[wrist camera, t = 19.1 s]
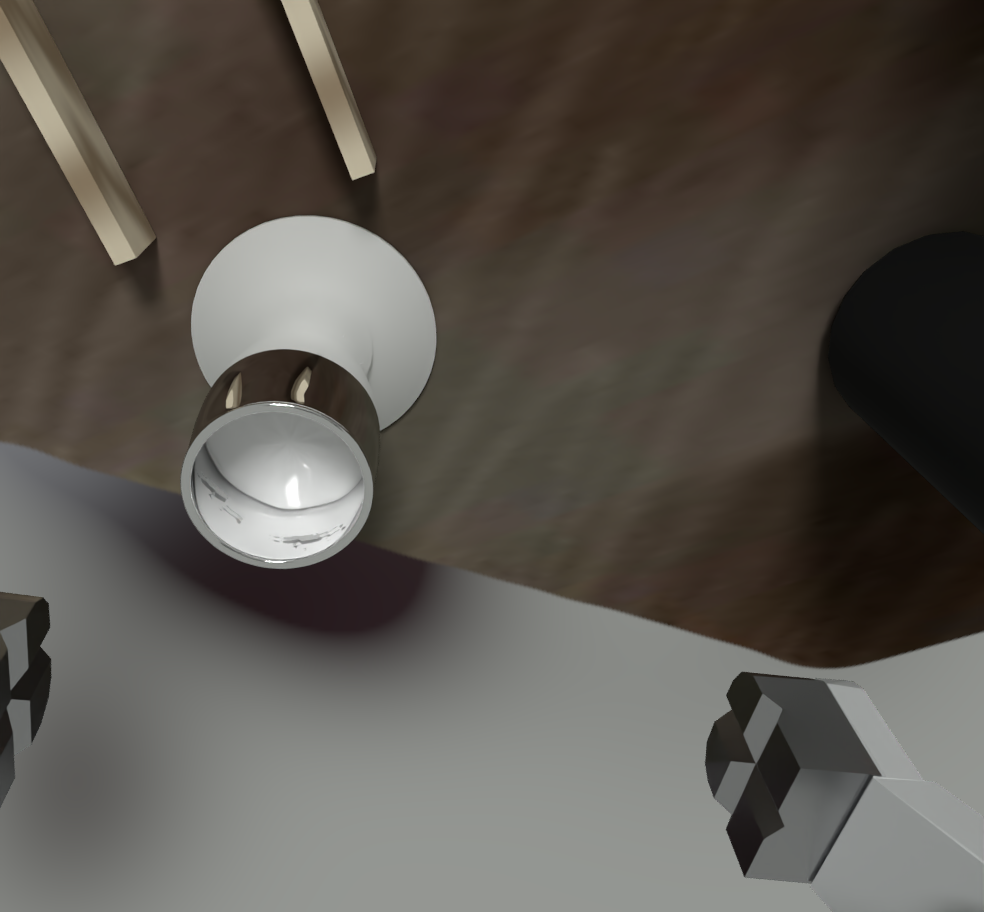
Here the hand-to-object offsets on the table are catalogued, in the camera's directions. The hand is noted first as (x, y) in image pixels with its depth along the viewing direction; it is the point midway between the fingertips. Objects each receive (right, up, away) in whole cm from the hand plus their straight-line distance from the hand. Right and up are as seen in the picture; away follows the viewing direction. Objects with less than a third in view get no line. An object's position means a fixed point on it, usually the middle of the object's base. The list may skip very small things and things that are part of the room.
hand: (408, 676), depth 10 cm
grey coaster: (-8, +9, +33) cm, 35 cm away
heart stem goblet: (-8, +8, +33) cm, 35 cm away
